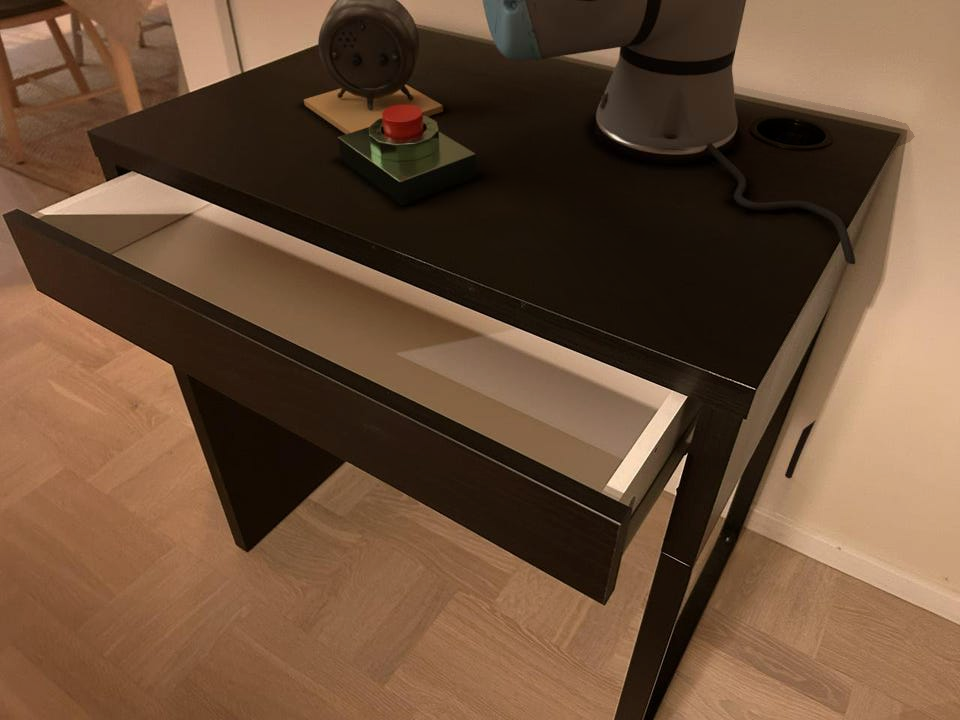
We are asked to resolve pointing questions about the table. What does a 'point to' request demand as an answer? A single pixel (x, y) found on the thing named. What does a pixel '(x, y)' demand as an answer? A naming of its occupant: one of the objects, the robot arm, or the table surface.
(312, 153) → the table surface
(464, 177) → the control box
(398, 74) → the alarm clock
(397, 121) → the button
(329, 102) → the cork mat
